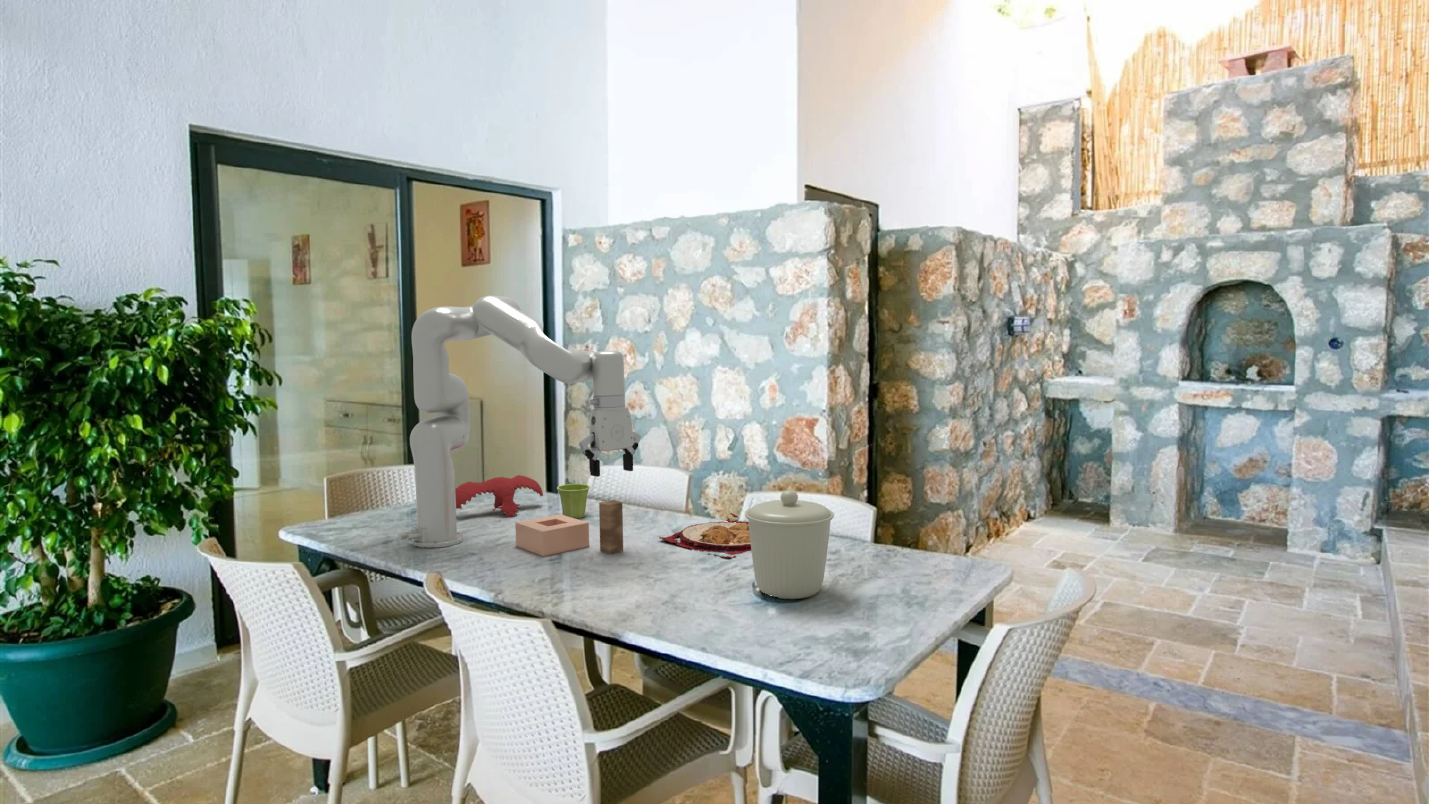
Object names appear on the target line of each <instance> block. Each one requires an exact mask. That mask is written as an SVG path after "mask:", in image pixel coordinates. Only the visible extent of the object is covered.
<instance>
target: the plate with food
mask: <svg viewBox="0 0 1429 804" xmlns="http://www.w3.org/2000/svg"><path fill="white" fill-rule="evenodd" d="M730 515H731V516H732V517H733V518H738V517H739V515H736V514H734V513H732V512H730ZM732 517H731V518H727V519H726V520H725V521H728V522H724V521H717V522H716V521H714V522H712V521H710V522H706V523H705V522H704V523H696V524H691V525H689V526H687V527H685V528H683V529H682V530H681V531H679V532H675V533H674V534H672V535H669V536H666V537H664V536H662V537H661V536H658V537H659V540H663V541H668V542H669V543H672V544H673V543H675V545H676V546H680V547H683V548H689V549H690V551H693V550H698V551H699V552H701V553H702V552H709V553H708V555H711V556H714V557H717V556H718V555H717V554H715V553H723V554H722V555H721V556H720V557H721V558H724V559H729V558H731V559H735V558H737V556H736V555H740V554H744V553H747V552H752V551H751V541H750V533H749V523H748V521H741V520H740V521H737V520H736V519H733V518H732ZM731 519H732V520H731ZM734 522H736V523H734ZM678 537H679V542H678V539H677V538H678ZM711 552H714V553H713V554H712V553H711ZM724 554H727V556H726V555H724Z"/></svg>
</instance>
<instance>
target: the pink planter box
mask: <svg viewBox="0 0 1429 804" xmlns="http://www.w3.org/2000/svg"><path fill="white" fill-rule="evenodd" d="M589 528H590V524H589V522H588V521H584V520H581V519H579V518H571V517H568V516H565V515H563V514H561V513H560V514H555V515H549V516H543V517H537V518H532V519H527V520H526V519H525V520H522V521H517V522H515V546H516V547H517V548H520V549H523V550H526V551H528V552H531V553H534V554H536V555H539V556H542V557H546V556H551V555H556V554H560V553H565V552H571V551H573V550H579V549H583V548H588V547H590V529H589Z"/></svg>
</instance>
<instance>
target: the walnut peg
mask: <svg viewBox="0 0 1429 804" xmlns="http://www.w3.org/2000/svg"><path fill="white" fill-rule="evenodd" d="M598 504H599V505H598V509H599V511H598V512H599V514H598V515H599V550H600V552H602V553H605V554H606V555H607V554H608V555H613V554H617V553H621V552H624V529H623V528H624V518H623V516H624V515H623V514H624V513H623V502H621V501H618V500H613V499H612V500H608V501H607V500H606V501H601V502H599V503H598Z"/></svg>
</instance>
